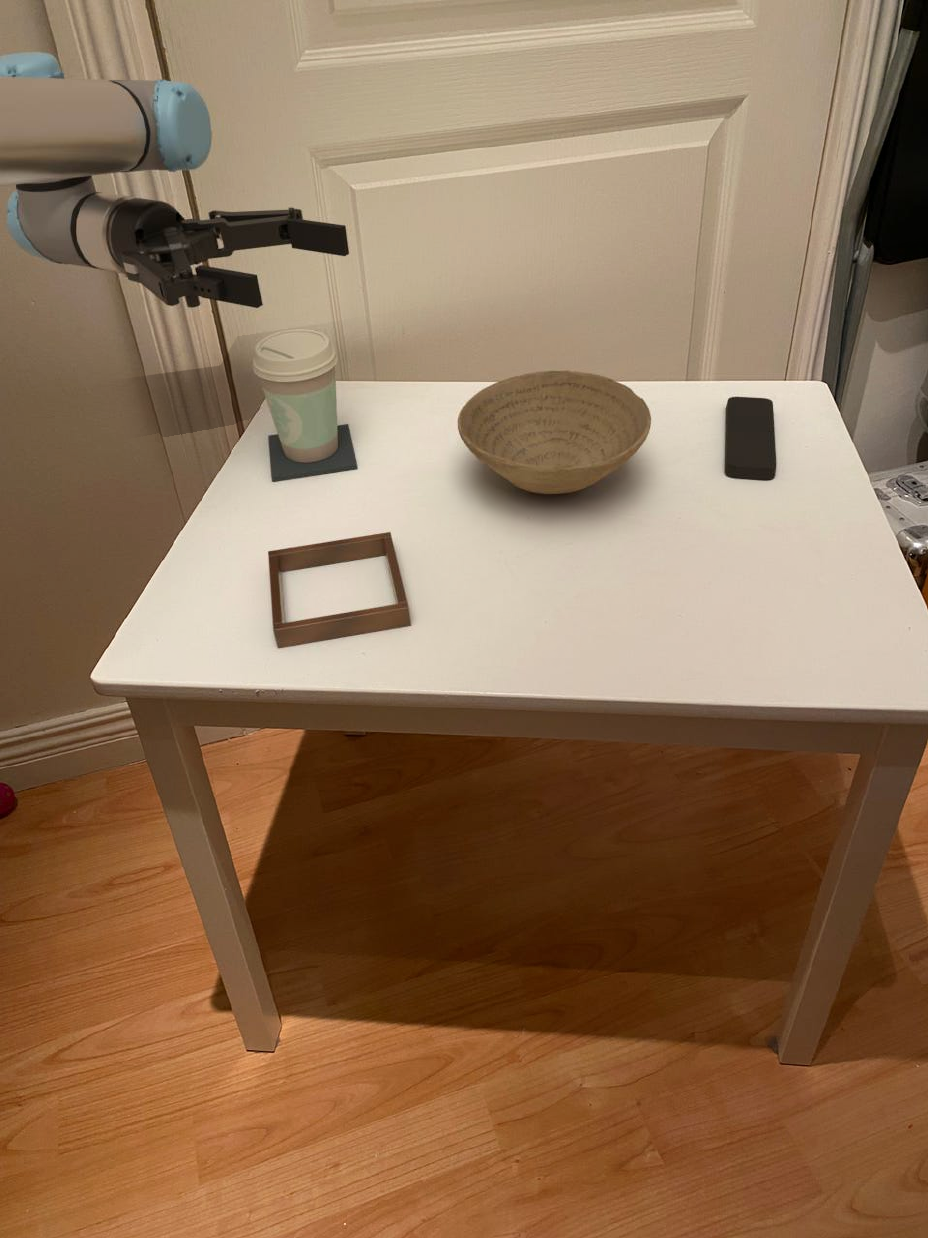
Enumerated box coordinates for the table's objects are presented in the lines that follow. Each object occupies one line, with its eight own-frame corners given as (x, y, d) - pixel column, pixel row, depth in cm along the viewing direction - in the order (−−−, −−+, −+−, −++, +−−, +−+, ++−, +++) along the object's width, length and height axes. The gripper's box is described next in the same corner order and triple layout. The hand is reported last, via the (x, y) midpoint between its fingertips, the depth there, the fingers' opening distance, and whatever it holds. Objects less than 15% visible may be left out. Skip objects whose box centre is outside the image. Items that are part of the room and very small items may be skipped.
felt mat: (272, 481, 98) (271, 476, 98) (268, 439, 105) (267, 435, 104) (357, 469, 99) (356, 464, 99) (348, 428, 106) (348, 423, 105)
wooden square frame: (277, 648, 78) (273, 630, 77) (272, 568, 86) (267, 551, 85) (411, 625, 79) (408, 607, 78) (392, 548, 88) (390, 531, 86)
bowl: (455, 536, 89) (449, 463, 83) (466, 438, 103) (462, 370, 97) (652, 535, 87) (659, 460, 82) (637, 435, 101) (642, 366, 96)
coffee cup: (267, 438, 104) (244, 334, 96) (342, 423, 105) (326, 320, 98) (277, 476, 98) (254, 369, 90) (357, 460, 99) (342, 354, 91)
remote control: (774, 485, 93) (771, 407, 104) (777, 470, 92) (774, 393, 103) (723, 481, 94) (725, 405, 105) (726, 466, 93) (727, 390, 104)
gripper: (224, 235, 106) (381, 259, 97) (54, 319, 90) (224, 357, 81) (208, 164, 101) (372, 183, 92) (26, 239, 85) (204, 271, 76)
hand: (303, 264), depth 87 cm, fingers open, 13 cm apart
